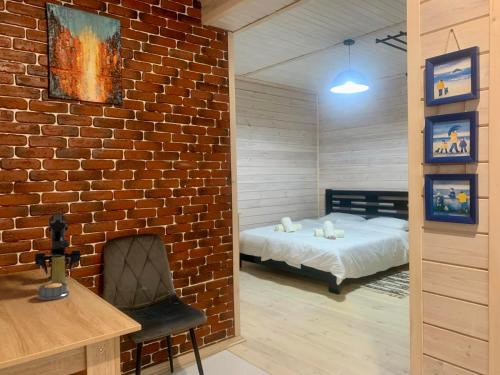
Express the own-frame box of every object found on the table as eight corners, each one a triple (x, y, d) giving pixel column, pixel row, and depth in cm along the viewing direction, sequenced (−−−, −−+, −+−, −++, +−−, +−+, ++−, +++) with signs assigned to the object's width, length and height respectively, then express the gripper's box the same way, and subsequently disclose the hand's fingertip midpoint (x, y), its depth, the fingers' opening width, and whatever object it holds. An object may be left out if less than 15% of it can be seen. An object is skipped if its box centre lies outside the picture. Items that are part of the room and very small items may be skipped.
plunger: (53, 283, 164) (53, 282, 164) (65, 285, 162) (65, 284, 162) (40, 288, 158) (40, 286, 158) (53, 289, 156) (53, 288, 156)
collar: (53, 290, 168) (53, 280, 168) (75, 293, 164) (75, 282, 164) (29, 299, 156) (29, 288, 156) (53, 302, 153) (52, 290, 153)
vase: (47, 289, 170) (47, 257, 170) (59, 285, 176) (58, 254, 176) (58, 290, 168) (57, 258, 168) (69, 287, 174) (68, 255, 173)
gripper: (34, 235, 171) (33, 264, 161) (80, 232, 179) (82, 260, 170) (35, 249, 178) (34, 279, 168) (79, 246, 186) (81, 274, 177)
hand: (58, 272), depth 171 cm, fingers open, 9 cm apart
